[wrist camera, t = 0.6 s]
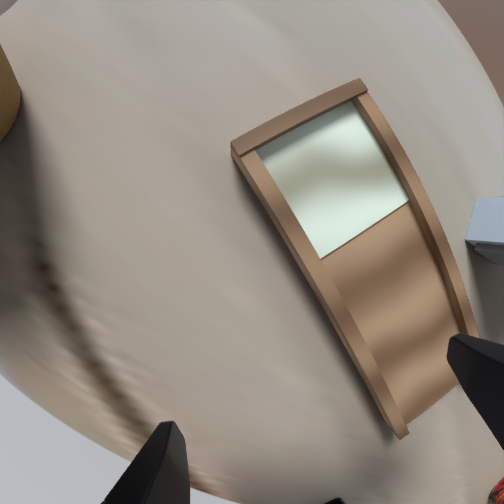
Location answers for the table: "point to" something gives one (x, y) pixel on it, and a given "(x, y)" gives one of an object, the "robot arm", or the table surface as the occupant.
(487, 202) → the pale blue tall block
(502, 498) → the deodorant
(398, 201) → the rail board
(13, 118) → the plant pot
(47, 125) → the table surface
